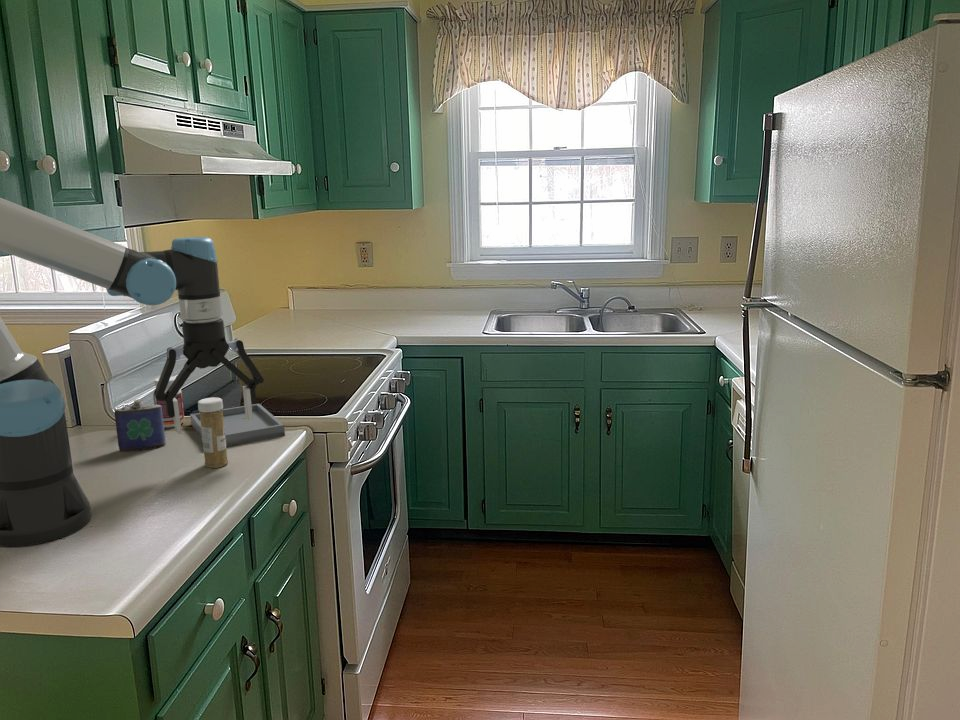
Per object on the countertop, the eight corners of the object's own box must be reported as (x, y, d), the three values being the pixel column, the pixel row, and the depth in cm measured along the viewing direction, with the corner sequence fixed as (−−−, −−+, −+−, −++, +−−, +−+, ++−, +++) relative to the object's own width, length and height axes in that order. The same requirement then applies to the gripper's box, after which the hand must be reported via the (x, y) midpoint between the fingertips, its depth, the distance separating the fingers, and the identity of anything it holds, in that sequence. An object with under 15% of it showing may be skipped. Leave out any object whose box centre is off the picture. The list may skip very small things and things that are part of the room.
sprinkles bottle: (231, 465, 150) (225, 400, 147) (207, 470, 148) (200, 404, 145) (224, 459, 154) (218, 395, 151) (201, 463, 152) (195, 399, 149)
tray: (210, 449, 160) (209, 438, 159) (191, 424, 177) (190, 414, 176) (285, 435, 168) (284, 424, 167) (259, 413, 185) (259, 403, 184)
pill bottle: (190, 422, 178) (185, 377, 175) (167, 430, 173) (162, 383, 170) (173, 418, 181) (168, 374, 179) (150, 425, 176) (145, 380, 174)
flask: (166, 443, 164) (160, 395, 162) (166, 447, 162) (160, 399, 159) (119, 449, 161) (112, 400, 158) (118, 453, 158) (111, 404, 156)
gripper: (134, 330, 135) (149, 443, 140) (272, 314, 147) (282, 418, 152) (128, 324, 141) (143, 432, 146) (262, 309, 154) (271, 409, 159)
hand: (214, 425), depth 149 cm, fingers open, 13 cm apart
